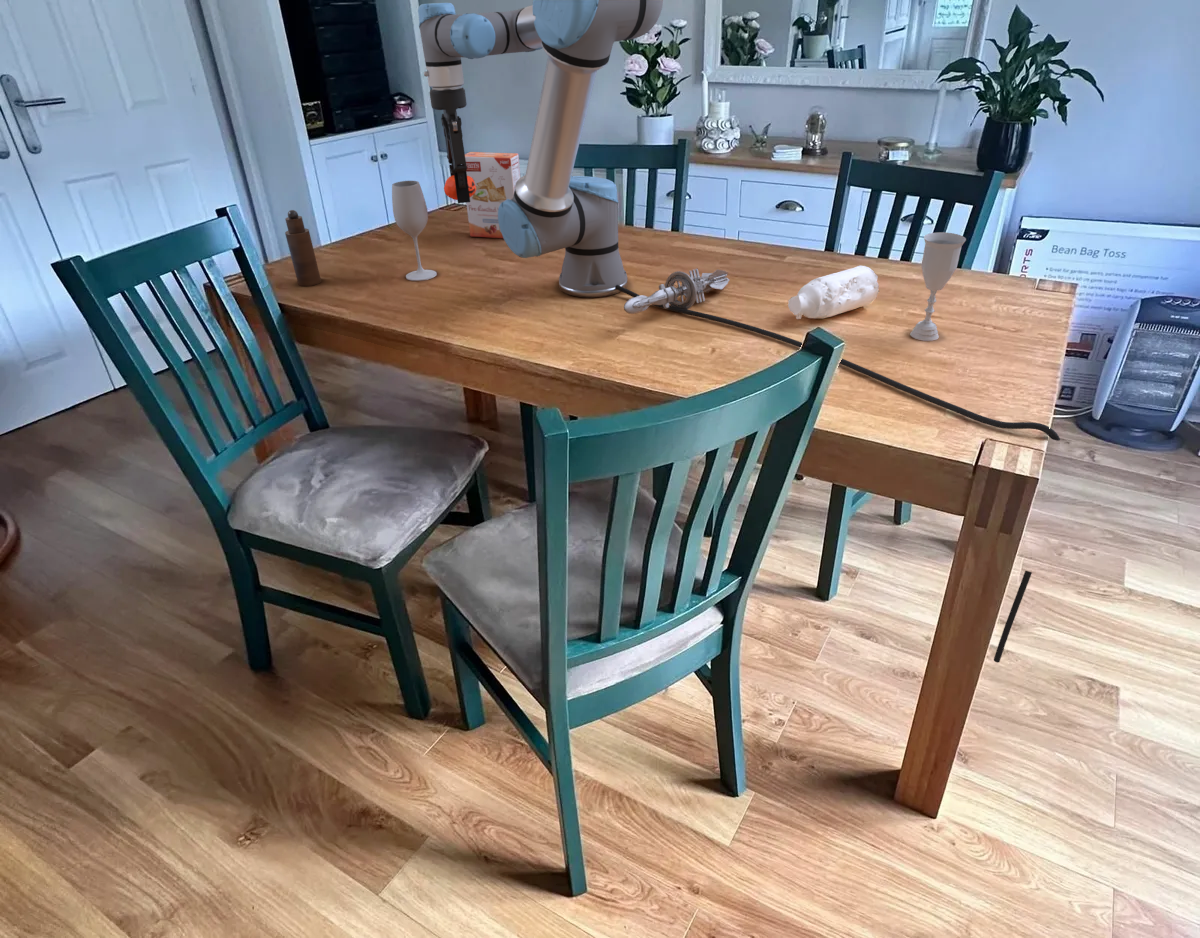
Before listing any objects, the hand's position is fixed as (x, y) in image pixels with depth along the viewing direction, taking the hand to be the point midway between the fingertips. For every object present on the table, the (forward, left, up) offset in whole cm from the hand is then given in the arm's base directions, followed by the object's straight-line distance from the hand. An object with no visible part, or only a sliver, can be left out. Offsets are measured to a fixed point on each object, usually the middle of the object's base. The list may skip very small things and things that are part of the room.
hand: (461, 197), depth 175 cm
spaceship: (-56, -9, -17) cm, 59 cm away
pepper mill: (+24, +29, -17) cm, 41 cm away
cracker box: (+16, -23, -17) cm, 33 cm away
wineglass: (+6, +10, -17) cm, 21 cm away
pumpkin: (0, 0, 0) cm, 1 cm away
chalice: (-100, -26, -17) cm, 104 cm away
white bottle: (-82, -25, -17) cm, 87 cm away
